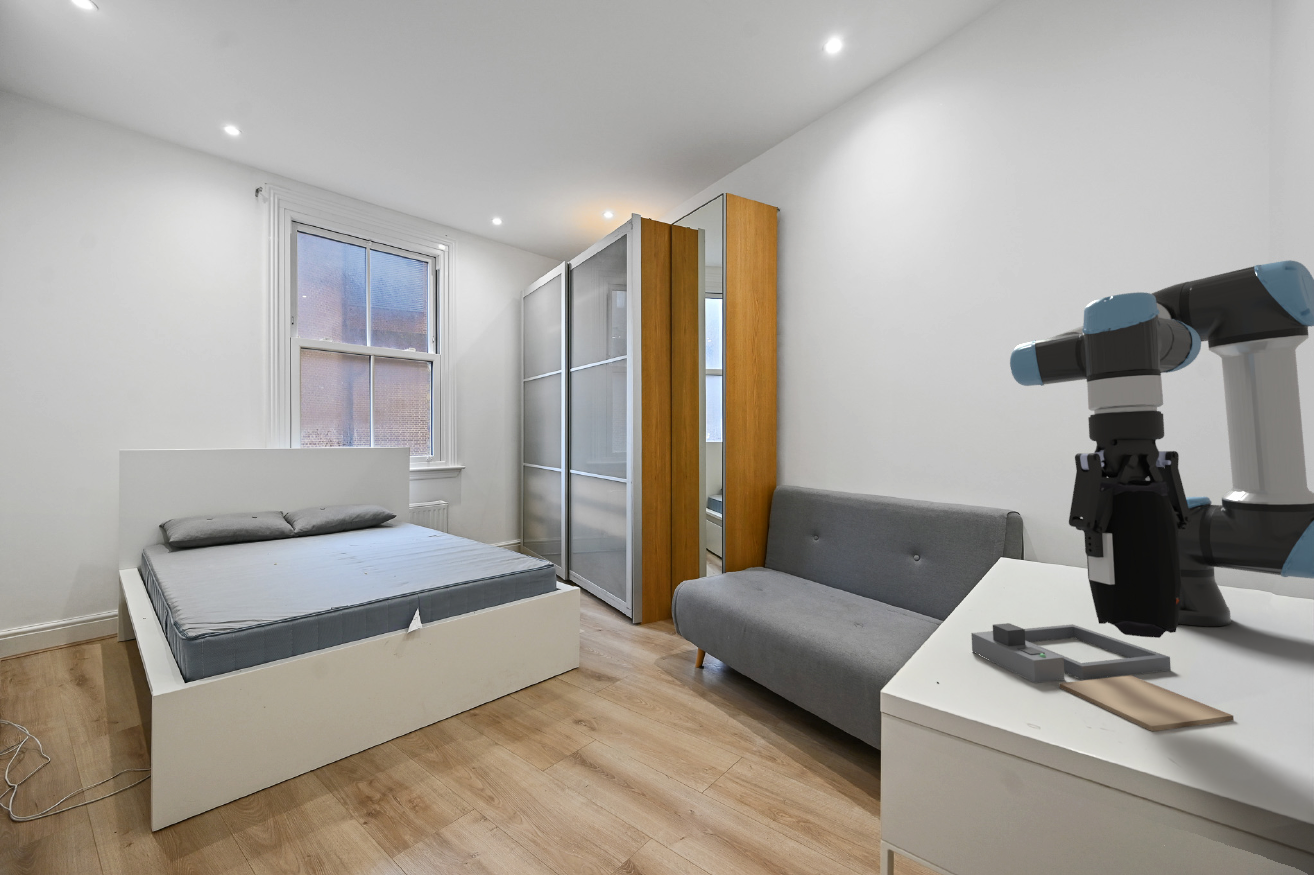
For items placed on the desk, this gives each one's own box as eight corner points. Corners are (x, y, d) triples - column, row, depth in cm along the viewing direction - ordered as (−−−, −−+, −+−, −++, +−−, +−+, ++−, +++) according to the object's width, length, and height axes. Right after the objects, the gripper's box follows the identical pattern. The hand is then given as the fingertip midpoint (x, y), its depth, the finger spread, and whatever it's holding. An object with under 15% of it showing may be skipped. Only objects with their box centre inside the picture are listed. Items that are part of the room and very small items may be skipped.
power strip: (998, 649, 88) (997, 616, 89) (1064, 679, 77) (1062, 640, 77) (972, 652, 88) (970, 618, 88) (1034, 682, 76) (1032, 643, 76)
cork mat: (1130, 679, 76) (1130, 675, 76) (1233, 720, 64) (1233, 715, 64) (1059, 687, 74) (1059, 683, 74) (1152, 731, 62) (1151, 726, 62)
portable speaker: (1203, 637, 66) (1193, 481, 66) (1134, 642, 65) (1125, 484, 65) (1135, 616, 74) (1128, 478, 75) (1074, 620, 73) (1066, 480, 74)
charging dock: (1073, 635, 94) (1072, 624, 94) (1170, 670, 79) (1169, 657, 79) (981, 644, 91) (981, 632, 91) (1064, 682, 76) (1063, 668, 76)
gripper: (1160, 412, 76) (1169, 568, 75) (1029, 414, 72) (1037, 578, 72) (1224, 407, 68) (1235, 581, 68) (1081, 409, 65) (1090, 592, 64)
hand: (1133, 579), depth 70 cm, fingers closed on portable speaker, 9 cm apart
